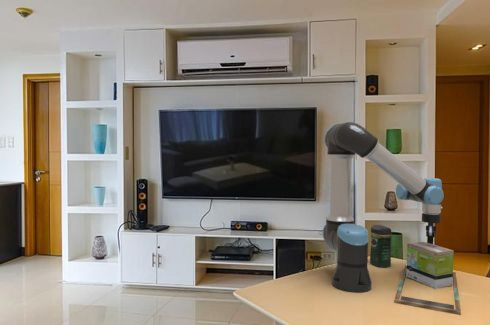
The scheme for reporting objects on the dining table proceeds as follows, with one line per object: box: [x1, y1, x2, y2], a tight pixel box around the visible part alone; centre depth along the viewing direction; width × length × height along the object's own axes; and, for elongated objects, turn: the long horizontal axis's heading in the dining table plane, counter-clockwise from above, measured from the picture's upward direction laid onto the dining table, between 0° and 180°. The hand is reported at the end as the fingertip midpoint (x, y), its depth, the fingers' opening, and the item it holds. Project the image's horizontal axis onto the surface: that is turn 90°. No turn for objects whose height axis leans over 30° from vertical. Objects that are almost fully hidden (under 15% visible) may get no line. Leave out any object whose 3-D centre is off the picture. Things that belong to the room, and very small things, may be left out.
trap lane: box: [393, 264, 462, 316], centre depth 151 cm, size 20×47×1 cm, turn 153°
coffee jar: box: [369, 224, 393, 268], centre depth 180 cm, size 10×8×19 cm
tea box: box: [405, 241, 455, 290], centre depth 157 cm, size 15×10×15 cm, turn 23°
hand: (429, 266), depth 169 cm, fingers closed
